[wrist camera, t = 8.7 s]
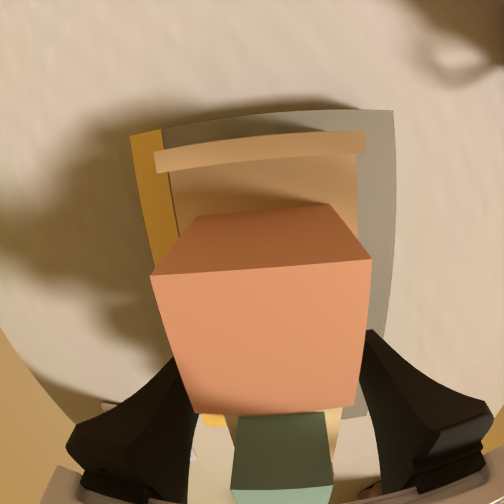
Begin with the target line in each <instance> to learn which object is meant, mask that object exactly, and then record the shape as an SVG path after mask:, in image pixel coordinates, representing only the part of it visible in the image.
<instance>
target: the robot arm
mask: <svg viewBox="0 0 504 504" xmlns="http://www.w3.org/2000/svg"><path fill="white" fill-rule="evenodd" d="M359 383H360V386H361V389H362V392H363V395H364V398H365V401H366V404H367V407H368V410H369V413H370V416H371V419H372V423H373V427H374V431H375V437H376V442H377V449H378V455H379V463H380V472H381V484H382V496H378V497H373V498H368V499H363V500H358V501H353V502H347V503H340V504H502V503H503V502H504V444H502V445H500V446H498V447H496V448H494V449H492V450H490V451H489V452H487V453H486V454H484V455H482V453H481V450H482V449H483V445H482V443H481V440H482V439H483V437H484V436H485V435H486V433H487V432H488V431H489V429H490V427H491V426H492V424H493V421H494V417H493V415H492V413H491V411H490V409H489V407H488V406H487V404H486V403H485V401H482V400H479V399H475V398H472V397H469V396H466V395H463V394H461V393H458V392H456V391H453V390H451V389H449V388H447V387H445V386H443V385H441V384H439V383H438V382H436V381H434V380H432V379H431V378H429V377H428V376H426V375H425V374H423V373H422V372H420V371H419V370H417V369H416V368H415V367H413V366H412V365H411V364H410V363H408V362H407V361H406V360H405V359H403V358H402V357H401V356H400V355H399V354H398V353H397V352H396V351H395V350H394V349H392V348H391V347H390V346H389V345H388V344H387V343H386V342H385V341H384V340H383V339H382V338H381V337H380V336H379V335H378V334H377V333H376V332H375V331H374V330H373V329H370V330H366V333H365V341H364V348H363V355H362V362H361V368H360V374H359ZM101 408H102V410H103V411H104V413H103V414H101V415H99V416H97V417H94V418H92V419H89V420H87V421H84V422H82V423H79V424H77V425H76V426H75V428H74V430H73V432H72V434H71V436H70V438H69V440H68V442H67V444H66V449H67V452H68V453H69V455H70V456H71V457H72V458H73V459H74V460H75V461H76V462H77V463H78V464H79V465H80V466H81V467H82V468H83V469H84V470H85V471H84V474H83V476H82V475H81V474H79V473H78V472H75V471H73V470H70V469H67V468H64V467H62V466H60V465H58V466H57V467H56V469H55V471H54V473H53V475H52V478H51V480H50V482H49V484H48V486H47V488H46V491H45V493H44V495H43V497H42V499H41V502H40V504H187V494H188V477H189V466H190V461H196V456H195V454H194V452H193V450H192V441H193V436H194V431H195V427H196V424H197V420H198V416H199V413H195V412H194V409H193V407H192V404H191V402H190V399H189V396H188V394H187V391H186V389H185V386H184V383H183V381H182V378H181V375H180V372H179V370H178V367H177V364H176V361H175V358H174V356H173V357H172V358H171V359H170V360H169V361H168V363H167V364H166V365H165V366H164V367H163V368H162V369H161V370H160V371H159V372H158V373H157V374H156V375H155V376H154V377H153V378H152V379H151V380H150V381H149V382H148V383H147V384H146V385H145V386H143V387H142V388H141V389H140V390H139V391H137V392H136V393H135V394H133V395H132V396H131V397H129V398H128V399H126V400H125V401H123V402H122V403H120V404H119V405H115V404H109V403H102V404H101Z"/></svg>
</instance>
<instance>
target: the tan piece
mask: <svg viewBox="0 0 504 504" xmlns="http://www.w3.org/2000/svg"><path fill="white" fill-rule="evenodd" d="M356 154H366V143H365V131H317V132H298V133H287V134H272V135H261V136H251V137H244V138H235V139H227V140H226V139H225V140H218V141H211V142H204V143H197V144H192V145H186V146H180V147H175V148H170V149H165V150H160V151H155V152H154V159H155V165H156V171H157V173H163V172H169V175H170V181H171V188H172V194H173V199H174V205H175V211H176V216H177V222H178V227H179V232H180V236H181V235H182V234H183V232H184V231H185V230H186V229H187V227H188V226H189V225H190V224H191V223H192V221H193V220H194V219H195V218H196V216H202V215H212V214H222V213H232V212H242V211H253V210H264V209H276V208H288V207H302V206H315V205H331V206H332V207H333V209H334V210H335V211H336V212H337V214H338V215H339V216H340V217H341V219H342V220H343V221H344V222H345V224H346V225H347V226H348V228H349V229H350V230H351V231H352V233H353V234H354V235H355V237H356V238H357V239H358V199H357V167H356ZM342 409H343V407H340V408H333V409H324V410H315V411H304V412H291V413H273V414H224V415H225V419H226V422H227V425H228V428H229V432H230V435H231V438H232V441H233V444H234V447H235V442H236V433H237V424H238V417H258V416H281V415H296V414H308V413H318V412H324V413H325V420H326V427H327V434H328V442H329V449H330V457H331V465H332V474H333V476H334V472H333V464H332V461H333V456H334V451H335V447H336V442H337V437H338V431H339V426H340V420H341V415H342Z"/></svg>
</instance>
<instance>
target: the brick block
mask: <svg viewBox="0 0 504 504" xmlns="http://www.w3.org/2000/svg"><path fill="white" fill-rule="evenodd" d="M371 271H372V258H371V257H370V255H369V254H368V253H367V251H366V250H365V249H364V247H363V246H362V245H361V243H360V242H359V241H358V239H357V238H356V237H355V235H354V234H353V233H352V231H351V230H350V229H349V228H348V226H347V225H346V224H345V222H344V221H343V220H342V219H341V217H340V216H339V215H338V214H337V212H336V211H335V210H334V209H333V207H332V206H331V205H315V206H302V207H288V208H276V209H264V210H253V211H242V212H232V213H222V214H212V215H202V216H196V218H195V219H194V220H193V221H192V223H191V224H190V225H189V226H188V227H187V229H186V230H185V231H184V232H183V234H182V235H181V236H180V237H179V239H178V240H177V241H176V242H175V244H174V245H173V246H172V247H171V249H170V250H169V251H168V252H167V254H166V255H165V256H164V258H163V259H162V260H161V261H160V263H159V264H158V265H157V267H156V268H155V269H154V271H153V272H152V273H151V274H150V280H151V283H152V287H153V291H154V294H155V298H156V301H157V305H158V308H159V311H160V315H161V318H162V321H163V325H164V328H165V331H166V334H167V337H168V340H169V343H170V346H171V349H172V352H173V355H174V358H175V361H176V364H177V367H178V370H179V372H180V375H181V378H182V381H183V383H184V386H185V389H186V391H187V394H188V396H189V399H190V402H191V404H192V407H193V409H194V412H195V413H199V414H273V413H291V412H304V411H315V410H324V409H333V408H340V407H348V406H354V401H355V396H356V391H357V385H358V380H359V374H360V368H361V362H362V355H363V348H364V341H365V333H366V325H367V316H368V307H369V296H370V285H371Z"/></svg>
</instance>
